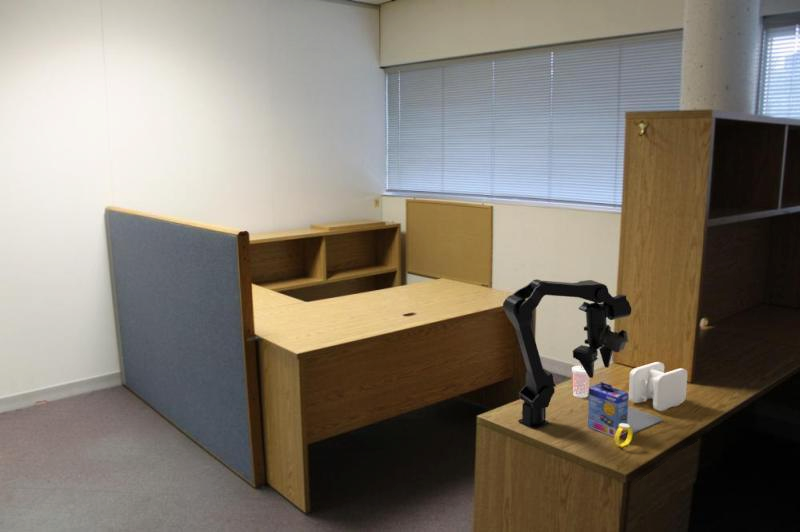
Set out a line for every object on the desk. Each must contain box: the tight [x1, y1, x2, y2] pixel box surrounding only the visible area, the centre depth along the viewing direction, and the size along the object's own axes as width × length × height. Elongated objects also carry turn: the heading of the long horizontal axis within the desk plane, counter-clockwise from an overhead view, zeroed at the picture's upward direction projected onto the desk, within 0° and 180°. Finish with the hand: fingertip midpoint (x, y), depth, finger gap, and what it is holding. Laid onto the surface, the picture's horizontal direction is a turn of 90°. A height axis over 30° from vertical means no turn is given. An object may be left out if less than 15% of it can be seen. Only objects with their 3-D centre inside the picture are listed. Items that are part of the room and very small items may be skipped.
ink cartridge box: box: [587, 381, 629, 438], centre depth 190 cm, size 10×6×14 cm, turn 39°
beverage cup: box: [571, 364, 591, 399], centre depth 216 cm, size 6×6×14 cm
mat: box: [627, 406, 665, 434], centre depth 197 cm, size 15×12×1 cm
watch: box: [614, 423, 634, 448], centre depth 181 cm, size 6×3×6 cm, turn 124°
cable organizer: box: [628, 361, 688, 412], centre depth 208 cm, size 15×11×12 cm
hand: (599, 372), depth 200 cm, fingers open, 9 cm apart
